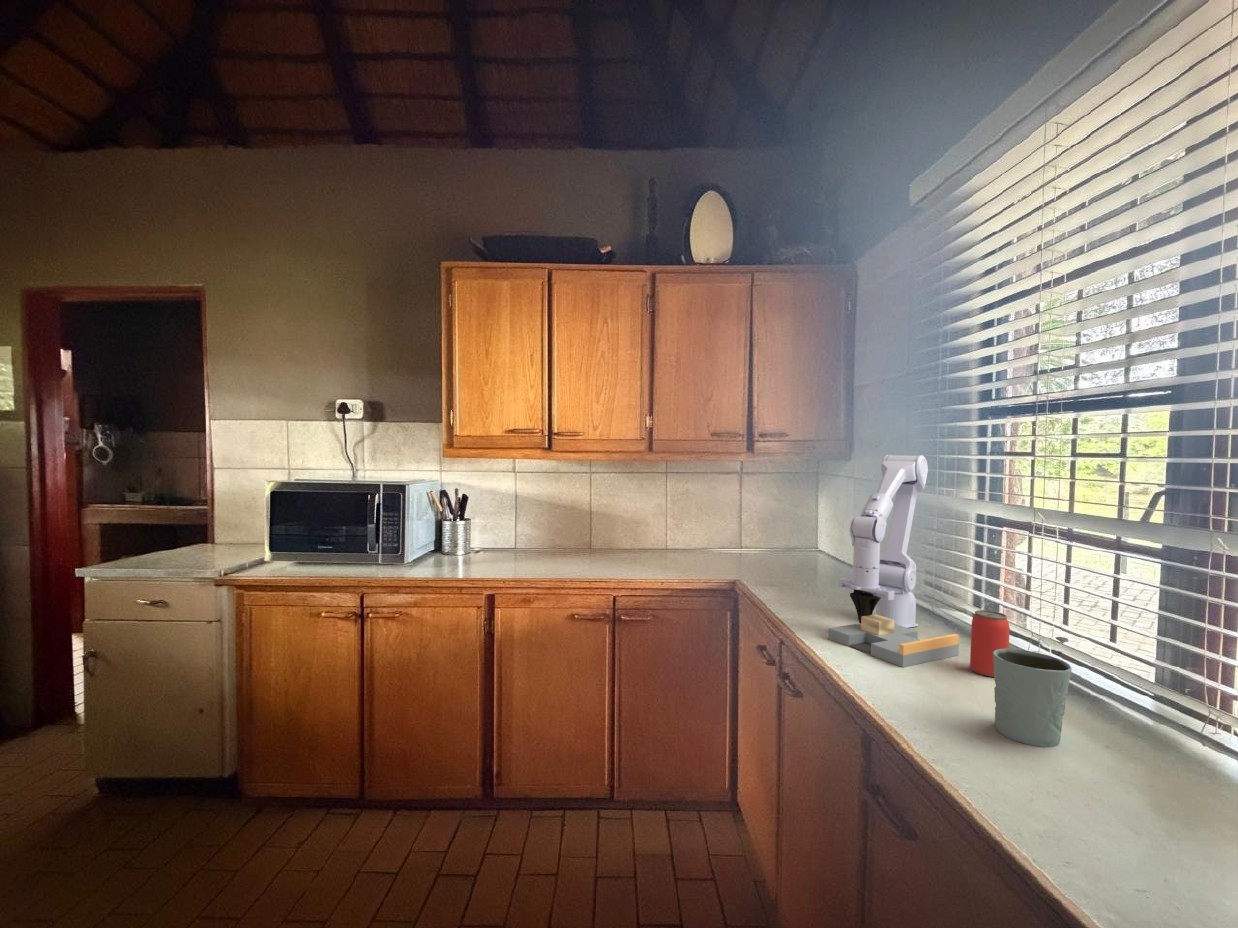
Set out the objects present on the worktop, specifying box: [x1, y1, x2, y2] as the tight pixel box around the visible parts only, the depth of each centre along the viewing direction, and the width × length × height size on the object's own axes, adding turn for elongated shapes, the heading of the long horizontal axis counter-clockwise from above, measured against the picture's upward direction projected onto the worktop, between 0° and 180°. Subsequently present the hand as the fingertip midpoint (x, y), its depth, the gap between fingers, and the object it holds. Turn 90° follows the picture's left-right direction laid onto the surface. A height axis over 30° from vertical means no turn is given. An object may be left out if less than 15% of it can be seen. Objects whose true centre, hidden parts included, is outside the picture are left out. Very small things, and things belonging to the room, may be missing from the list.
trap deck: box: [828, 622, 960, 668], centre depth 135 cm, size 18×20×4 cm
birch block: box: [861, 613, 894, 635], centre depth 139 cm, size 5×5×3 cm
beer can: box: [969, 609, 1011, 678], centre depth 121 cm, size 7×7×12 cm
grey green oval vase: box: [993, 648, 1073, 748], centre depth 94 cm, size 10×10×12 cm
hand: (864, 623), depth 142 cm, fingers closed
